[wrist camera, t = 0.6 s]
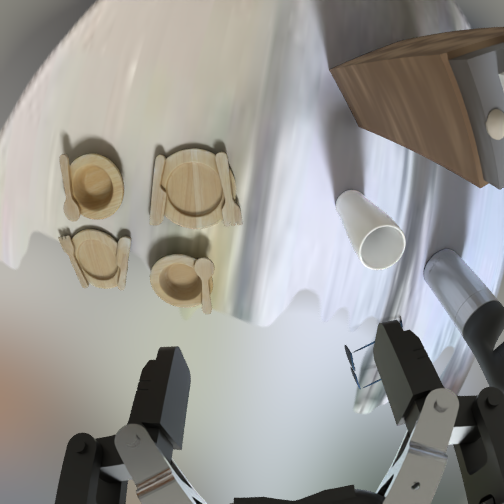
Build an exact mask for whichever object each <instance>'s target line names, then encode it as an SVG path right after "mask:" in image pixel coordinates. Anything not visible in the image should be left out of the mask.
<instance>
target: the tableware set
mask: <svg viewBox="0 0 504 504" xmlns="http://www.w3.org/2000/svg"><path fill="white" fill-rule="evenodd" d="M60 167H61V172H62V178H63V183H64V188H65V193H66V201H65V203H64V208H63V209H64V213H65V215H66V217H67V218H68V219H69V220H70V221H77V220H78V219H79V217H80V214H81V215H83V216H85V217H87V218H90V219H104V218H107V217H109V216H111V215H112V214H113V213H115V212H116V211H117V209H118V208H119V206H120V205H121V203H122V200H123V196H124V183H123V179H122V176H121V174H120V171H119V170H118V168H117V167H116V165H115V164H114V163H113V162H112V161H111V160H110V159H108V158H107V157H105V156H102V155H99V154H94V153H90V154H85V155H82V156H80V157H78V158H77V159H75V160H74V161H73V162H72V163H71V164H69V157H68V155H67V154H63V155H61V156H60ZM235 197H236V183H235V179H234V176H233V174H232V172H231V170H230V168H229V164H228V157H227V154H226V153H225V152H218V153H217V154H214V153H212V152H210V151H207V150H204V149H198V148H190V149H184V150H180V151H178V152H176V153H174V154H172V155H170V156H169V157H168V158H165V156H164V155H162V154H160V155H158V156H157V157H156V160H155V167H154V176H153V186H152V197H151V209H150V225H159V224H160V223H161V222H162V221H163V217H164V215H165V216H166V217H167V218H168V219H169V220H171V221H172V222H174V223H175V224H177V225H180V226H182V227H185V228H190V229H202V228H207V227H211V226H213V225H215V224H217V223H218V222H220V221H221V220H223V221H224V226H225V227H228V226H229V224H230V223H231V225H232V226H235V223H236V222H237V225H242V224H243V223H242V217H241V211H240V207H239V206H238V205H237V204H236V203H235ZM62 238H63V239H62ZM59 241H60V244H61V246H62V248H63V250H64V252H66V253H67V254H68V255H69V257H70V261H71V264H72V266H73V268H74V269H75V271H76V274H77V277H78V279H79V281H80V283H81V285H82V287H83V288H88V286H89V284H91V285H93V286H95V287H99V288H104V289H108V288H113V287H116V286H118V289H119V290H124V288H125V283H126V274H127V270H128V258H129V251H130V244H131V237H128V236H123V237H121V238H120V239H119V241H118V242H117V241H116V240H115V239H114V238H113V237H111V236H110V235H108V234H107V233H105V232H102V231H100V230H96V229H85V230H82V231H80V232H78V233H77V234H76V235H75V236H74V237H73V238H72V240H71V237H70V236H69V235H67V236H66V237H65V236H63V237H59ZM213 273H214V264H213V262H212V261H211V260H210V259H209V258H206V257H201V258H199V259H195V258H193V257H190V256H188V255H183V254H172V255H167V256H165V257H162V258H161V259H159V260H158V261H157V262H156V263H155V264H154V265H153V267H152V269H151V272H150V282H151V285H152V288H153V290H154V291H155V293H156V294H157V295H158V296H159V297H160V298H161V299H162V300H164V301H165V302H167V303H169V304H171V305H173V306H177V307H184V308H188V307H194V306H198V305H200V304H202V311H203V312H204V313H205V314H210V313H211V310H212V306H211V298H210V294H211V292H212V289H213V280H212V275H213Z"/></svg>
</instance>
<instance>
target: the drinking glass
mask: <svg viewBox="0 0 504 504" xmlns="http://www.w3.org/2000/svg"><path fill="white" fill-rule="evenodd" d="M336 211H337V213H338V215H339V216H340V219H341V221H342V223H343V226H344V228H345V231H346V233H347V236H348V238H349V241H350V243H351V245H352V247H353V249H354V251H355V253H356V254H357V256H358V257H359V259H360V260H361V262H362V263H363V264H364V265H365V266H366V267H367V268H370V269H373V270H382V269H386V268H388V267H390V266H392V265H393V264H395V263H396V262H397V261H398V260H399V259H400V257H401V256H402V254H403V252H404V249H405V244H406V241H405V236H404V233H403V232H402V230H401V229H400V228H399V226H398V225H397V224H396V223H395V222H394V220H393V219H392V218H391V217H390V216H389V215H387V214H386V213H385V212H384V211H383V210H381V209H380V208H379V207H377V206H376V205H375V204H374V203H372V202H371V201H370V200H368V199H367V198H366V197H365V196H364V195H363V194H362V193H360V192H359V191H356V190H348V191H345V192H343V193H342V194H341V195H340V196H339V197H338V199H337V201H336Z"/></svg>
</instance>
